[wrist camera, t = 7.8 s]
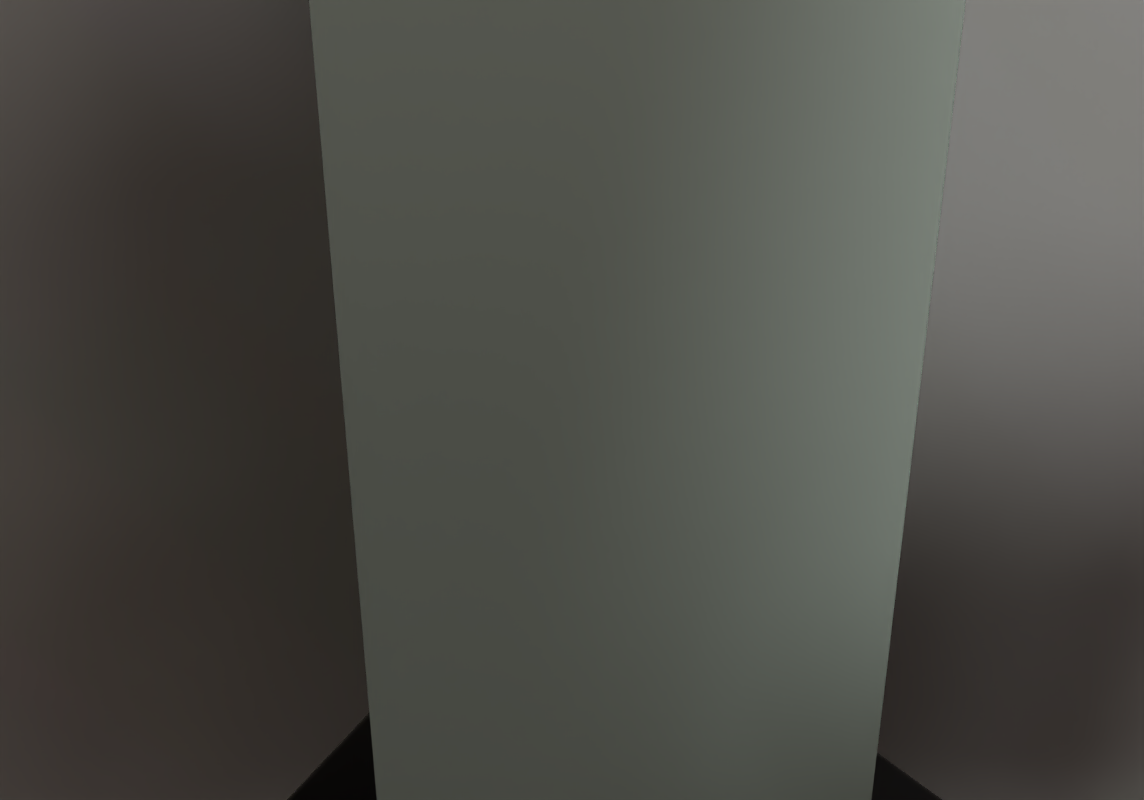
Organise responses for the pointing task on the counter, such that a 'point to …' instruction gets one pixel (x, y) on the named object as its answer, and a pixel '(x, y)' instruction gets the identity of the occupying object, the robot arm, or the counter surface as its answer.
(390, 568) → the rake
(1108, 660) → the counter surface
